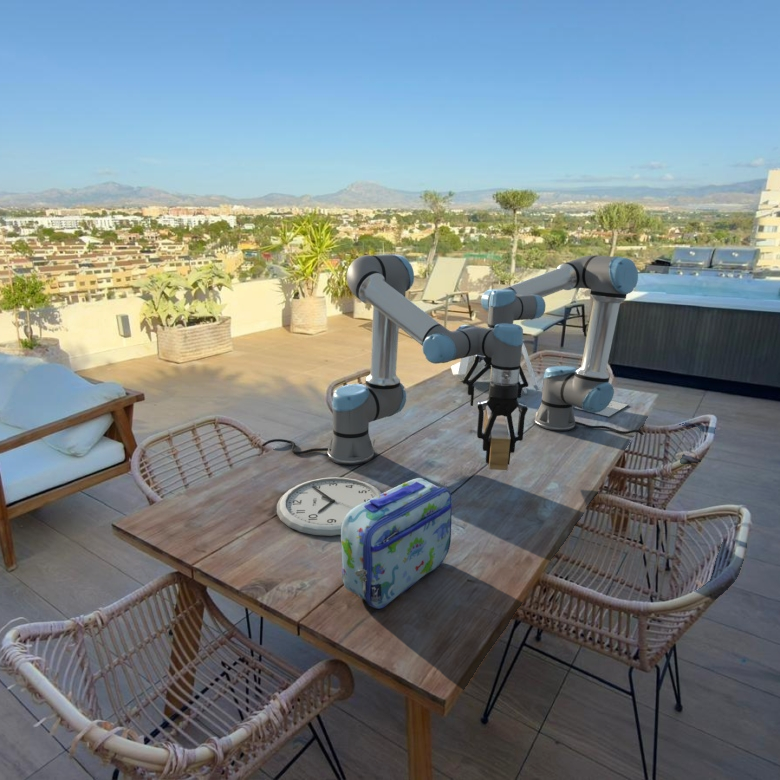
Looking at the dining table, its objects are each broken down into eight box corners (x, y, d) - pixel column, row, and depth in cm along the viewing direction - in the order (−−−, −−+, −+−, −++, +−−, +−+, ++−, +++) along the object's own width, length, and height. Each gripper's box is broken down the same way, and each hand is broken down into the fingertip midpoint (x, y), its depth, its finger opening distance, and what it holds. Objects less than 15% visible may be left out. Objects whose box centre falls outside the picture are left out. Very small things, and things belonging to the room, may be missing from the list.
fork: (423, 514, 139) (423, 507, 138) (438, 487, 153) (439, 481, 152) (432, 516, 138) (433, 509, 137) (447, 489, 152) (448, 483, 152)
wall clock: (392, 527, 129) (268, 531, 127) (391, 533, 130) (269, 537, 127) (383, 473, 158) (282, 475, 155) (383, 478, 158) (282, 480, 156)
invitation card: (608, 416, 214) (573, 407, 224) (608, 416, 214) (573, 408, 224) (628, 404, 229) (594, 396, 238) (628, 405, 229) (594, 397, 238)
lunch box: (370, 622, 101) (370, 527, 94) (335, 595, 108) (333, 505, 102) (455, 565, 118) (460, 481, 112) (420, 544, 125) (423, 465, 119)
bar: (483, 426, 174) (485, 400, 171) (498, 427, 173) (500, 401, 171) (489, 469, 143) (491, 438, 140) (507, 470, 143) (510, 439, 140)
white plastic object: (472, 423, 260) (450, 400, 235) (454, 348, 282) (432, 320, 258) (544, 398, 248) (529, 371, 223) (519, 323, 270) (503, 291, 245)
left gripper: (470, 384, 137) (465, 465, 144) (540, 388, 135) (531, 469, 142) (470, 376, 144) (464, 454, 151) (536, 380, 142) (528, 458, 149)
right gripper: (458, 341, 159) (453, 407, 165) (542, 345, 156) (534, 412, 162) (458, 336, 166) (453, 399, 172) (538, 340, 163) (531, 404, 169)
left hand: (497, 461), depth 146 cm, fingers closed on bar, 5 cm apart
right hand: (493, 406), depth 167 cm, fingers open, 13 cm apart
